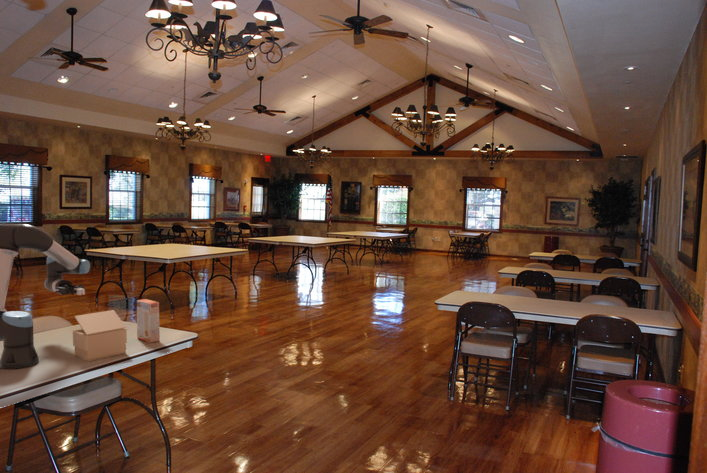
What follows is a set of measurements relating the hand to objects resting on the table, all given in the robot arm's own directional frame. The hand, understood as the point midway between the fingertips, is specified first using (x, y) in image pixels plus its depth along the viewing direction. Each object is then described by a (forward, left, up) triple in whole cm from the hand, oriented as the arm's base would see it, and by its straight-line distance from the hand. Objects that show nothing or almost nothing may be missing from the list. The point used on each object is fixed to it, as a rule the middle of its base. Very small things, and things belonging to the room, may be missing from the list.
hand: (82, 292), depth 273 cm
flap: (0, -19, -12) cm, 23 cm away
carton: (0, -18, -28) cm, 34 cm away
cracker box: (+29, -10, -28) cm, 42 cm away
